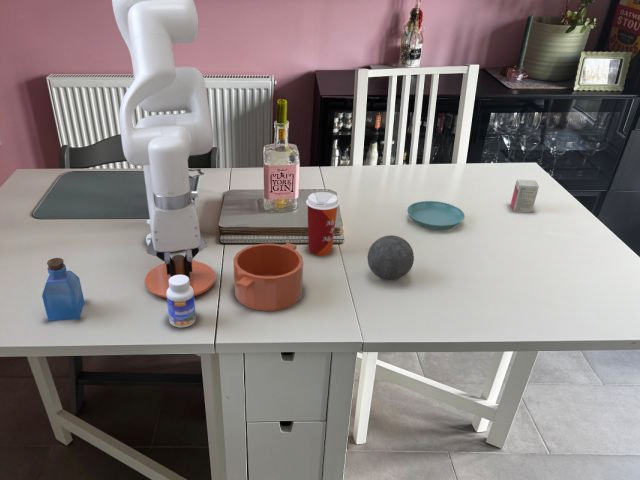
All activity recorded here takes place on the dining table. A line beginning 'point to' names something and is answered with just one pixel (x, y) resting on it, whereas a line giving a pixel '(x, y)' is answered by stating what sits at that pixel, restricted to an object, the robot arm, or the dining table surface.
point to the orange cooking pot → (268, 276)
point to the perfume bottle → (62, 292)
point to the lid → (199, 276)
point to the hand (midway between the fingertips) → (179, 274)
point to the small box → (524, 195)
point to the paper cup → (321, 222)
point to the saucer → (435, 215)
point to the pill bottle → (180, 301)
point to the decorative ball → (390, 257)
